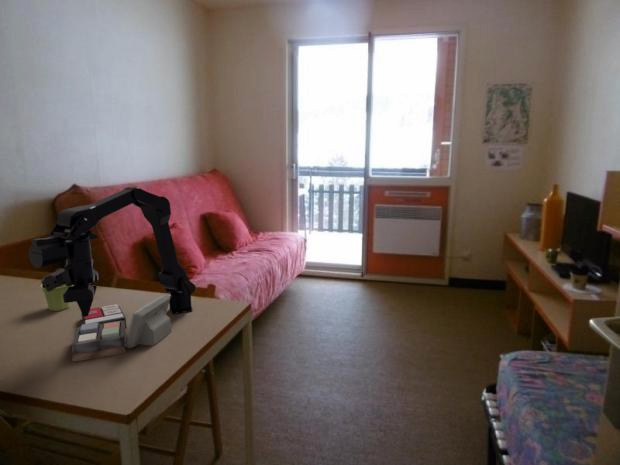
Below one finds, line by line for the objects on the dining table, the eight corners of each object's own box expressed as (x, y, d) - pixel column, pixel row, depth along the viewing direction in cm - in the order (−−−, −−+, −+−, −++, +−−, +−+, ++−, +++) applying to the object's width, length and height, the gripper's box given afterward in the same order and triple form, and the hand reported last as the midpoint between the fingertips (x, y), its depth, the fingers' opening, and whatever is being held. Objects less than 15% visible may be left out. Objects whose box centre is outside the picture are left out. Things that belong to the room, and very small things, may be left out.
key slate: (98, 329, 114) (97, 322, 113) (97, 335, 110) (96, 327, 110) (82, 332, 112) (81, 324, 112) (81, 337, 109) (80, 330, 108)
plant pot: (78, 301, 143) (75, 278, 142) (72, 311, 134) (69, 286, 133) (48, 304, 140) (45, 280, 139) (39, 314, 132) (36, 289, 130)
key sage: (119, 334, 111) (118, 326, 110) (119, 340, 107) (118, 332, 107) (103, 336, 109) (102, 329, 109) (102, 342, 106) (101, 335, 105)
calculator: (118, 302, 133) (125, 315, 121) (120, 315, 134) (126, 329, 121) (80, 309, 128) (83, 323, 115) (82, 322, 128) (85, 337, 116)
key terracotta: (120, 328, 116) (119, 321, 116) (120, 334, 112) (119, 327, 112) (104, 331, 114) (104, 323, 114) (104, 336, 111) (103, 329, 110)
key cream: (97, 340, 109) (96, 332, 108) (96, 346, 105) (95, 338, 105) (80, 342, 107) (79, 335, 107) (78, 349, 104) (77, 341, 103)
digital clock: (159, 324, 124) (157, 291, 122) (182, 329, 121) (180, 295, 119) (116, 347, 110) (112, 310, 107) (141, 353, 106) (138, 315, 104)
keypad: (125, 331, 119) (124, 318, 118) (125, 352, 106) (123, 338, 106) (79, 338, 114) (78, 325, 113) (72, 361, 102) (71, 347, 101)
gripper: (48, 253, 108) (56, 308, 111) (33, 271, 91) (42, 336, 94) (95, 249, 112) (101, 302, 115) (89, 266, 95) (96, 327, 98)
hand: (85, 316), depth 105 cm, fingers closed
